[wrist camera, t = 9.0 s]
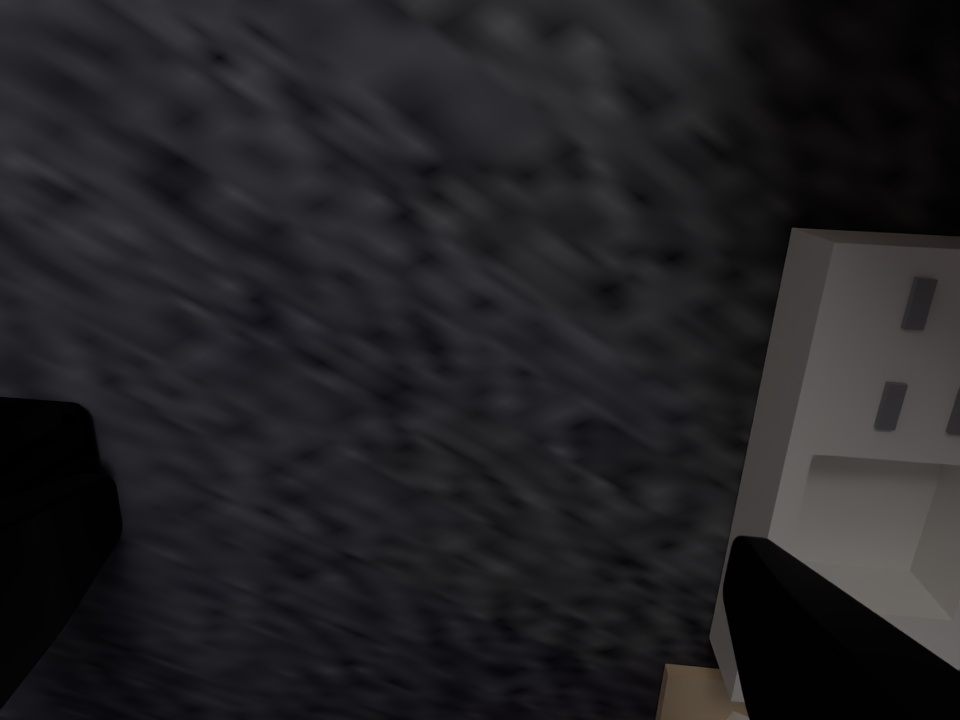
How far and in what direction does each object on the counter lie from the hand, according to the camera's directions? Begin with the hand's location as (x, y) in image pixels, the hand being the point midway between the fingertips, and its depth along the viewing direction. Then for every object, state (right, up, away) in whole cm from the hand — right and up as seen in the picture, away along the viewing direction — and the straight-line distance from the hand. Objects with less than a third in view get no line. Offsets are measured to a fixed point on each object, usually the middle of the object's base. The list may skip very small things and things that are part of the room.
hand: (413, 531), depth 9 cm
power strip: (+14, -1, +13) cm, 19 cm away
